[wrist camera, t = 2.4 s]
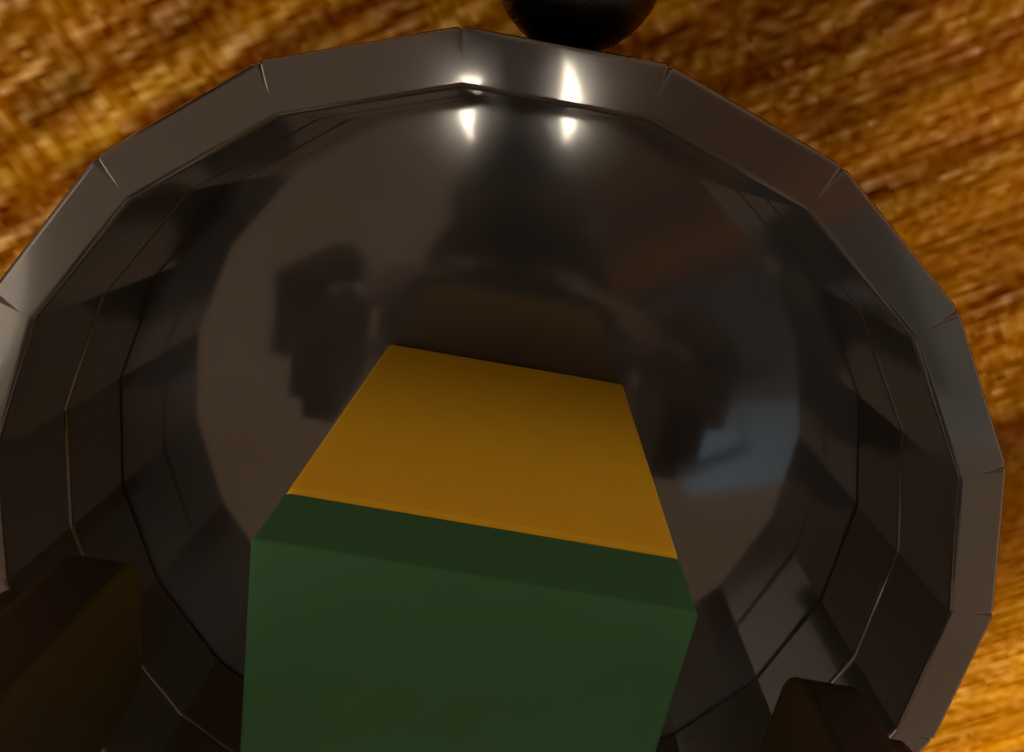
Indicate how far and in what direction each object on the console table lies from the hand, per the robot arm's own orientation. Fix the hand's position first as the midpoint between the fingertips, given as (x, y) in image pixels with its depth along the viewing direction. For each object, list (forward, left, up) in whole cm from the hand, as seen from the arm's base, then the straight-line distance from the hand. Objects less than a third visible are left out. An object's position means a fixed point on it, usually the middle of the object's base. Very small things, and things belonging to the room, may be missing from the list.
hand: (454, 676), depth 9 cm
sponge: (0, 0, -4) cm, 4 cm away
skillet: (0, 0, -5) cm, 5 cm away
